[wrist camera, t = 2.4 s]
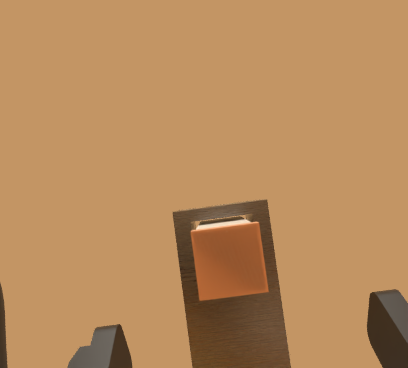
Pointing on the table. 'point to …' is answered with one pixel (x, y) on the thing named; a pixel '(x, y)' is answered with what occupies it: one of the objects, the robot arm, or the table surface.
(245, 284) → the block
